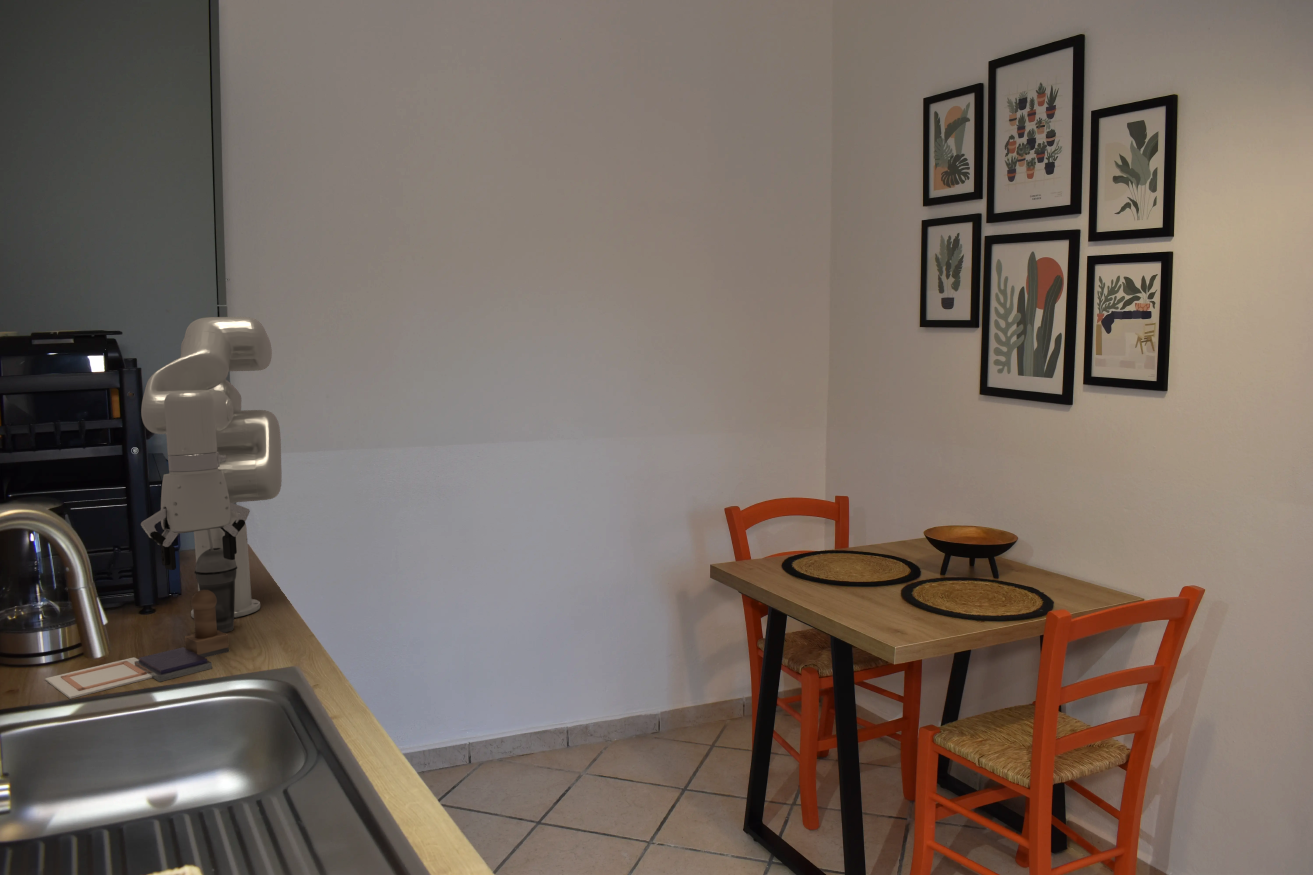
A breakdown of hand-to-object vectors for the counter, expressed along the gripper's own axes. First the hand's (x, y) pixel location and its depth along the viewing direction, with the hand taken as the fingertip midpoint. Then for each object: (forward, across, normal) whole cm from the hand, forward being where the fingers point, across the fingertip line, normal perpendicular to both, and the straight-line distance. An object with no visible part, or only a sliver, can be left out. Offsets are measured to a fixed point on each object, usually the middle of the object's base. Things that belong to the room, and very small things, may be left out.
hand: (200, 563), depth 157 cm
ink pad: (+16, +7, +3) cm, 17 cm away
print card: (+16, +16, -1) cm, 22 cm away
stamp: (+16, 0, -1) cm, 16 cm away
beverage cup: (+16, -7, -13) cm, 21 cm away
